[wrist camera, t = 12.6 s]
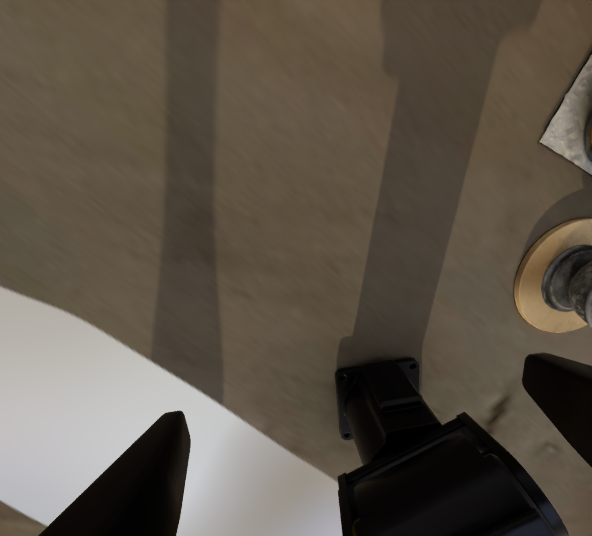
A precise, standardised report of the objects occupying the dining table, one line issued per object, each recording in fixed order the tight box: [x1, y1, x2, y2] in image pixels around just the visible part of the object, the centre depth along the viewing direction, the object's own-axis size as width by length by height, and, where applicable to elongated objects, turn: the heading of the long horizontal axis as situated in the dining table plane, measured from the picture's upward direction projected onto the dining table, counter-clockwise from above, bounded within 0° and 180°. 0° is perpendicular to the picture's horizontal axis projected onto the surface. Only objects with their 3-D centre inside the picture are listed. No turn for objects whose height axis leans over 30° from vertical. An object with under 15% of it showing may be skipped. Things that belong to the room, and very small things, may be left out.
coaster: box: [514, 218, 592, 333], centre depth 22 cm, size 9×9×1 cm
